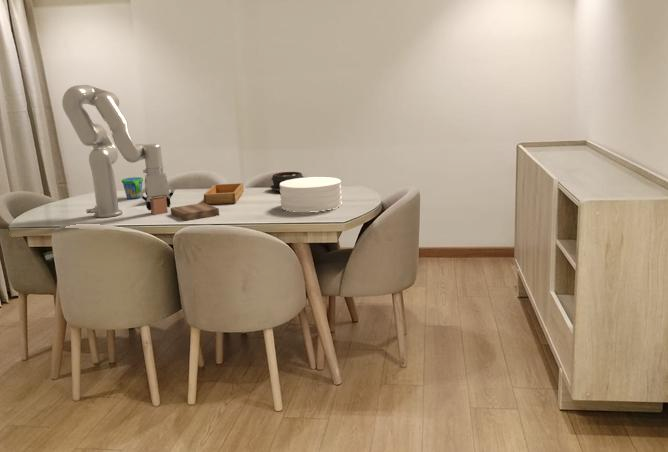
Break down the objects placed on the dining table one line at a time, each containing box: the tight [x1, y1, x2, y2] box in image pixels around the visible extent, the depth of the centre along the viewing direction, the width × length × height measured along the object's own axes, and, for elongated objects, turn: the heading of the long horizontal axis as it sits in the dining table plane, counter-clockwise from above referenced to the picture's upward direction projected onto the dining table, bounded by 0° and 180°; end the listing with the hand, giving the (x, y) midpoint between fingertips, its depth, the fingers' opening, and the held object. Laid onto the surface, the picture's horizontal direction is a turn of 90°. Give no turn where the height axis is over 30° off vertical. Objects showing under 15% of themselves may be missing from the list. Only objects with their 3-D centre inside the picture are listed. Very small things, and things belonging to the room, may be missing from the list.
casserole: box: [270, 171, 305, 192], centre depth 364 cm, size 25×19×8 cm
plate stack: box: [279, 176, 343, 212], centre depth 317 cm, size 28×28×12 cm
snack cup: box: [121, 176, 144, 200], centre depth 362 cm, size 16×10×10 cm
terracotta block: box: [149, 196, 169, 216], centre depth 321 cm, size 6×6×7 cm
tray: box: [203, 182, 245, 205], centre depth 348 cm, size 31×15×6 cm, turn 0°
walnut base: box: [170, 202, 220, 221], centre depth 313 cm, size 16×18×3 cm
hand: (158, 208), depth 321 cm, fingers open, 8 cm apart
